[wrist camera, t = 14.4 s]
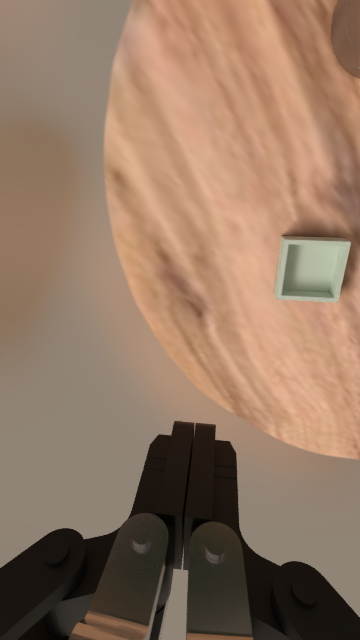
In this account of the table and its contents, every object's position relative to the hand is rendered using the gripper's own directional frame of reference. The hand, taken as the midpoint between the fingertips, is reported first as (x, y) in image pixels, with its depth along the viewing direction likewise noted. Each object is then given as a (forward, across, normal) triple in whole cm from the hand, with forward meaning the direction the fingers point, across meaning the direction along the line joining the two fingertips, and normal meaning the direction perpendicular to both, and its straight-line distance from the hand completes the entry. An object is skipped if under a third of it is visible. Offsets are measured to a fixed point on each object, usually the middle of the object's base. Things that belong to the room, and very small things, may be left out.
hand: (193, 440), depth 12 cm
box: (+31, -11, +1) cm, 33 cm away
